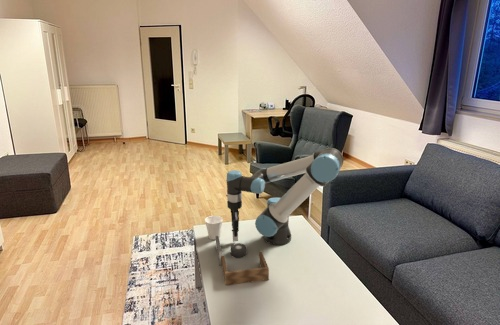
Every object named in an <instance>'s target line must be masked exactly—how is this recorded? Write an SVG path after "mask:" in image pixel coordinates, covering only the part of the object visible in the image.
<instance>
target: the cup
mask: <svg viewBox="0 0 500 325" xmlns="http://www.w3.org/2000/svg"><path fill="white" fill-rule="evenodd" d="M204 222H205V226H206V230H207V236H208V238H209V239H210V240H212V241H216V236H219V239H220V237H221V233H222V226H223V217H222V216H220V215H210V216H207V217H205V218H204Z"/></svg>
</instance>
